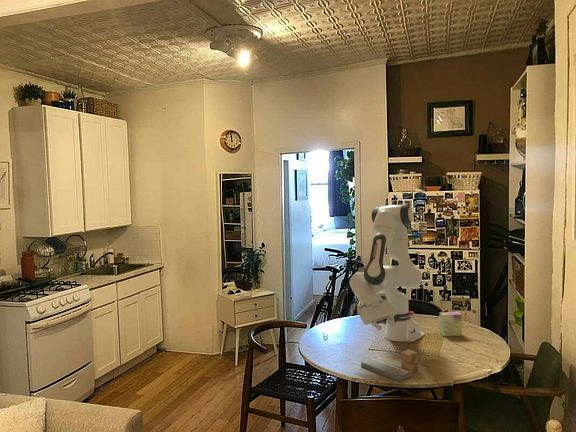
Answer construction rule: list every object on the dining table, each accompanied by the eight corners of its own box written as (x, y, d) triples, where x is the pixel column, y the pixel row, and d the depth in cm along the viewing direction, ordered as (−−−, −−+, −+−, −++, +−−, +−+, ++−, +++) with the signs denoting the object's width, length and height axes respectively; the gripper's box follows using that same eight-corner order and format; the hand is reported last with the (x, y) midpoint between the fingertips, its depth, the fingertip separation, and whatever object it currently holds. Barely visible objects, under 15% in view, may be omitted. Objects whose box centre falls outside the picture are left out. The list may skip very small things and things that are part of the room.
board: (373, 362, 216) (373, 357, 216) (411, 376, 198) (411, 371, 198) (361, 366, 211) (361, 361, 211) (398, 381, 193) (398, 376, 193)
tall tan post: (408, 367, 208) (408, 349, 208) (417, 370, 204) (417, 352, 204) (401, 369, 205) (401, 352, 205) (410, 373, 201) (410, 355, 201)
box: (457, 332, 255) (457, 311, 254) (462, 335, 249) (461, 314, 249) (439, 333, 255) (439, 312, 254) (443, 336, 249) (442, 315, 248)
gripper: (358, 303, 214) (375, 328, 207) (388, 295, 226) (405, 319, 219) (352, 310, 218) (368, 336, 211) (382, 302, 230) (398, 326, 223)
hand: (387, 327), depth 215 cm, fingers open, 8 cm apart
